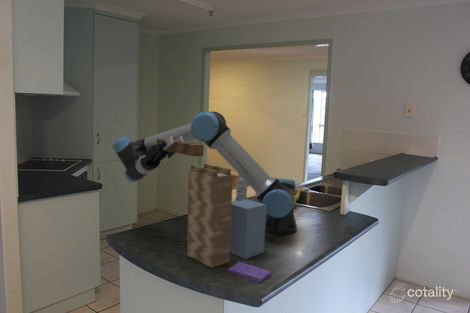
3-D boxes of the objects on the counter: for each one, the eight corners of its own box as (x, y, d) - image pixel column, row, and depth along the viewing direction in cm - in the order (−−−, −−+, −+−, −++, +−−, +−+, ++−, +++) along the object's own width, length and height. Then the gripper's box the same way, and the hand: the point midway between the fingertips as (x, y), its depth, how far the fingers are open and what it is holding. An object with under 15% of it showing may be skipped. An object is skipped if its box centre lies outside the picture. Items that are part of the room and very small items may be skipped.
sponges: (260, 284, 119) (260, 278, 119) (227, 273, 126) (227, 267, 126) (271, 276, 125) (271, 271, 125) (239, 266, 132) (239, 261, 132)
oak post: (187, 255, 139) (188, 165, 134) (204, 249, 144) (206, 163, 140) (212, 267, 129) (215, 171, 124) (229, 261, 134) (232, 169, 130)
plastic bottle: (246, 210, 199) (247, 173, 197) (233, 209, 201) (234, 172, 198) (248, 207, 206) (249, 171, 203) (235, 206, 207) (237, 170, 204)
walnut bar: (156, 148, 152) (157, 138, 151) (165, 148, 155) (165, 138, 154) (194, 156, 135) (194, 145, 134) (203, 155, 138) (203, 144, 137)
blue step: (226, 250, 144) (228, 203, 142) (244, 244, 151) (246, 199, 149) (245, 259, 137) (247, 209, 135) (263, 252, 144) (266, 204, 142)
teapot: (289, 212, 200) (290, 190, 199) (267, 206, 209) (268, 185, 208) (302, 207, 211) (304, 186, 210) (280, 202, 220) (281, 182, 218)
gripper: (167, 169, 166) (197, 147, 150) (132, 172, 154) (160, 149, 138) (162, 153, 168) (192, 130, 152) (127, 155, 156) (155, 131, 140)
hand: (177, 139), depth 145 cm, fingers closed on walnut bar, 4 cm apart
